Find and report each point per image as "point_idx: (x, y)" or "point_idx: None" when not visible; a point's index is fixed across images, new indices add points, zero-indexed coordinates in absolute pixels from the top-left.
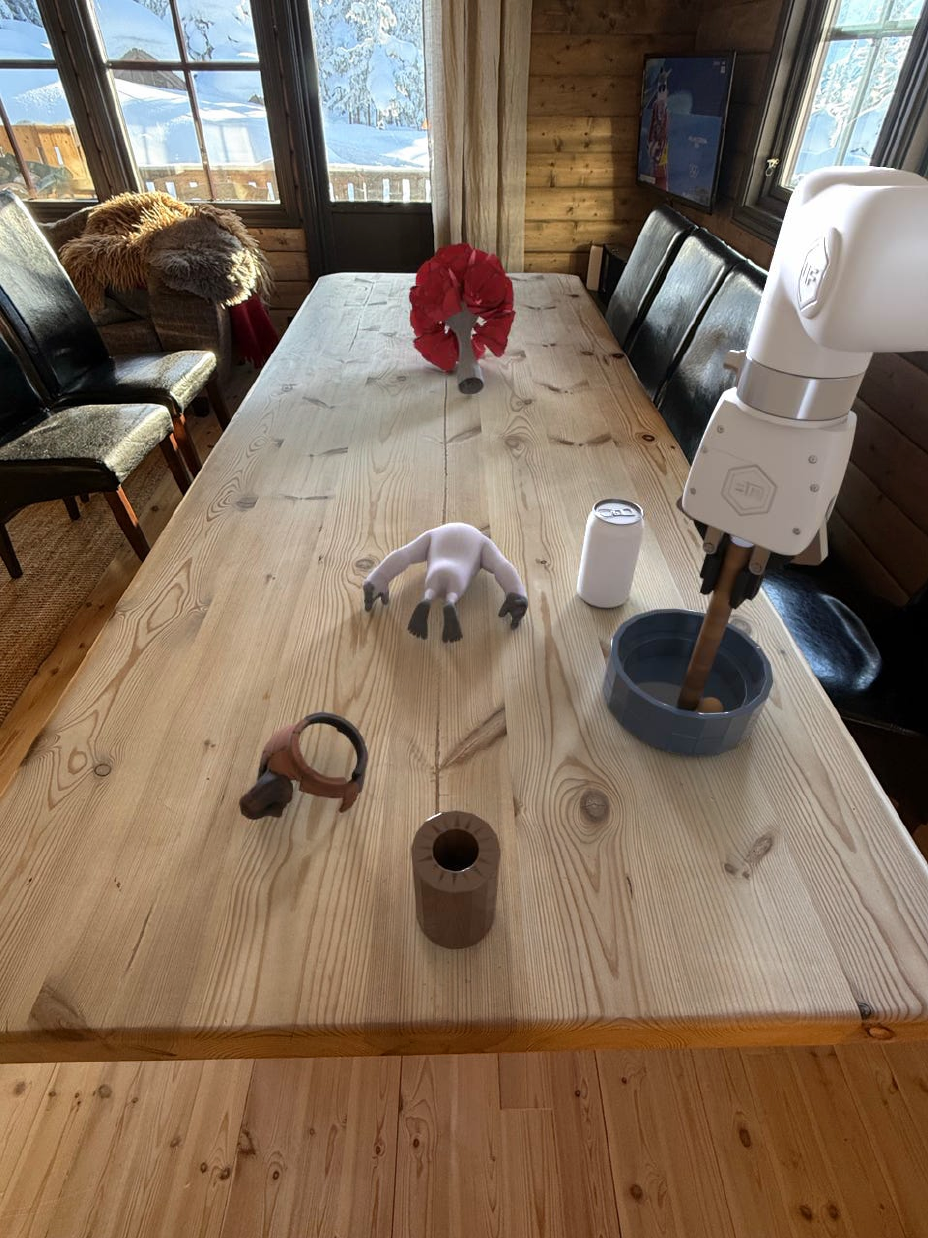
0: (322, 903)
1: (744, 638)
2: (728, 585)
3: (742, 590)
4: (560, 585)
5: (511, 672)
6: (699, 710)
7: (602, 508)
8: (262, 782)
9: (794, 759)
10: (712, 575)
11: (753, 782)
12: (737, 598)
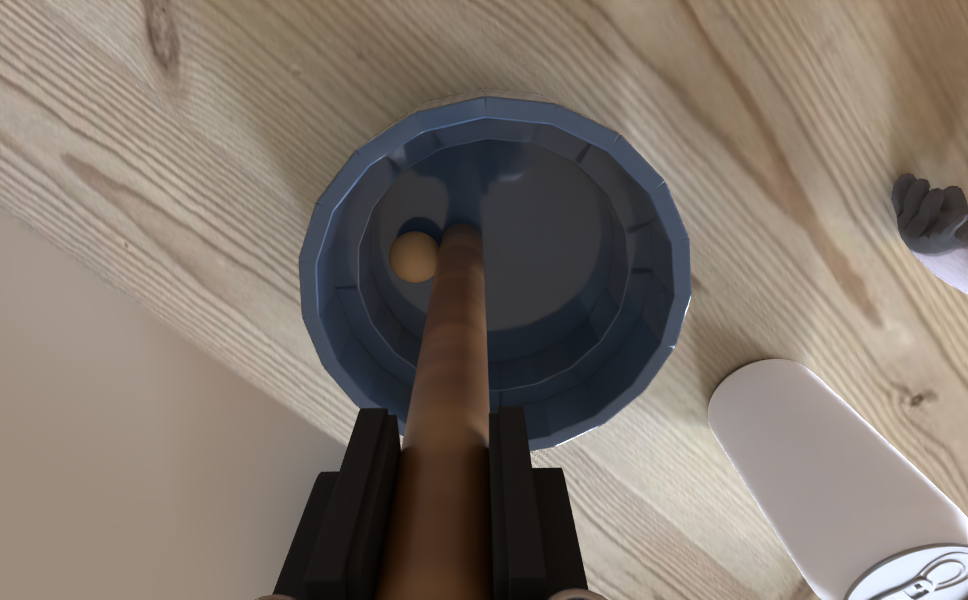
0: None
1: None
2: (420, 484)
3: (338, 486)
4: (851, 366)
5: (839, 55)
6: (429, 237)
7: (965, 581)
8: None
9: (256, 275)
10: (497, 487)
11: (269, 171)
12: (354, 445)
